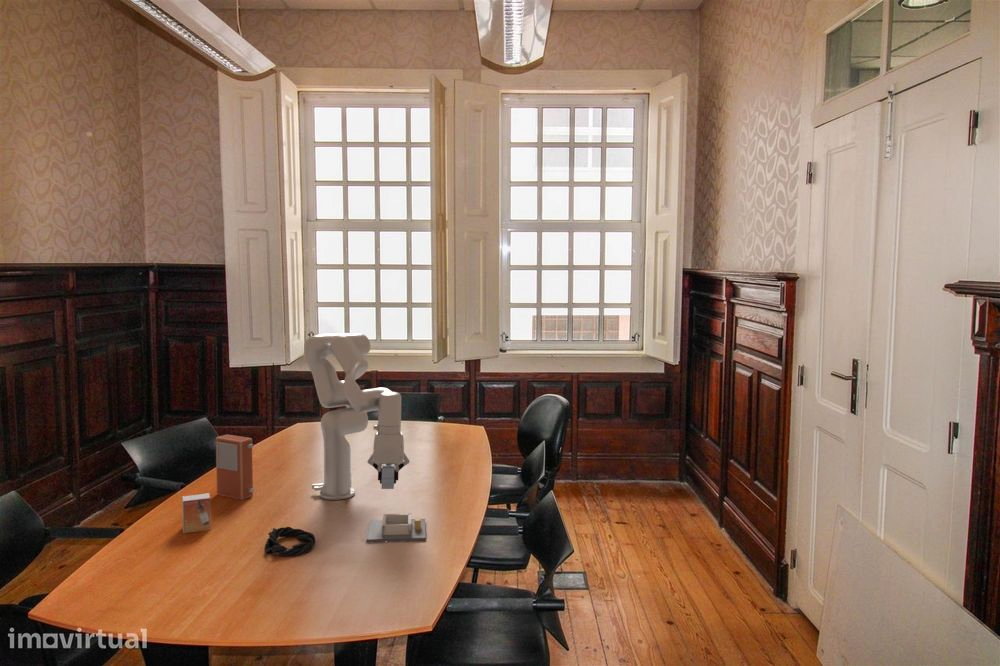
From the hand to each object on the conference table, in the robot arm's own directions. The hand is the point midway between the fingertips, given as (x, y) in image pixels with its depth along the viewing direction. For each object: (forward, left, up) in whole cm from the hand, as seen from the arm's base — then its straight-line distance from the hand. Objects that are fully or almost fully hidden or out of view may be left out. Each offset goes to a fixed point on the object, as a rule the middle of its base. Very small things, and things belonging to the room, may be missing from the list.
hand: (388, 481), depth 221 cm
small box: (-60, -7, -12) cm, 61 cm away
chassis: (+3, -14, -12) cm, 18 cm away
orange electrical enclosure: (-57, +25, -12) cm, 63 cm away
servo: (0, 0, -1) cm, 1 cm away
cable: (-28, -22, -13) cm, 37 cm away
